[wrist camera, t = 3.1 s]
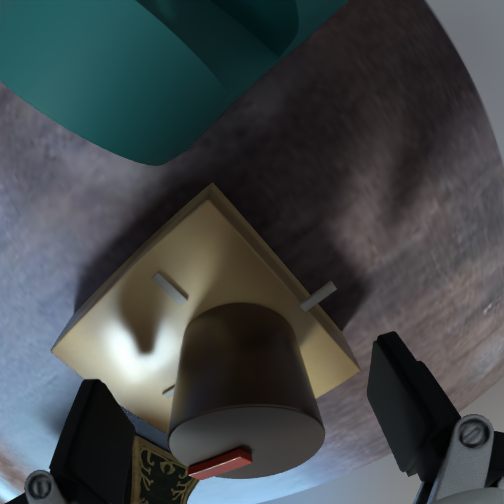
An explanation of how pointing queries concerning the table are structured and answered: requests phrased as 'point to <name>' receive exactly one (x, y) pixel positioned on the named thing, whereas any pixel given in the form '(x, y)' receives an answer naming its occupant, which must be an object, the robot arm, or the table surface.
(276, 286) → the dial panel
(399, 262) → the table surface
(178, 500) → the decorative box
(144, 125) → the bracket
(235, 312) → the dial
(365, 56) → the table surface
